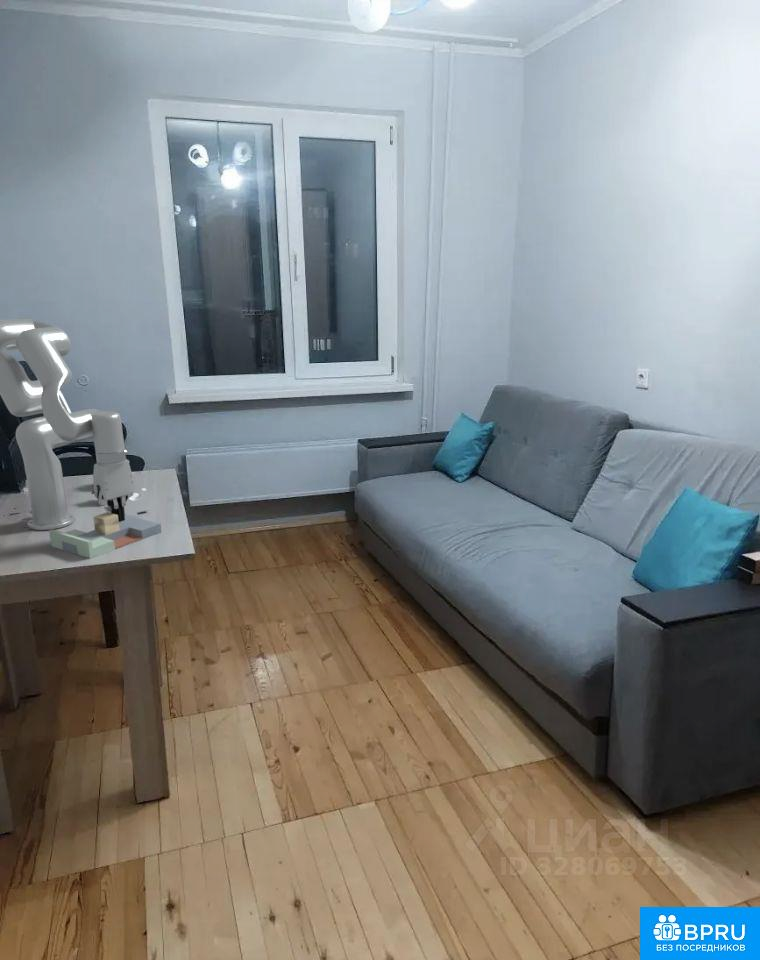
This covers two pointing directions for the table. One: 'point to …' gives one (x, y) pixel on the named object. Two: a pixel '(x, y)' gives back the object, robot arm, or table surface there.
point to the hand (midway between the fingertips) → (118, 520)
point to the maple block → (106, 523)
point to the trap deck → (104, 537)
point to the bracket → (137, 503)
